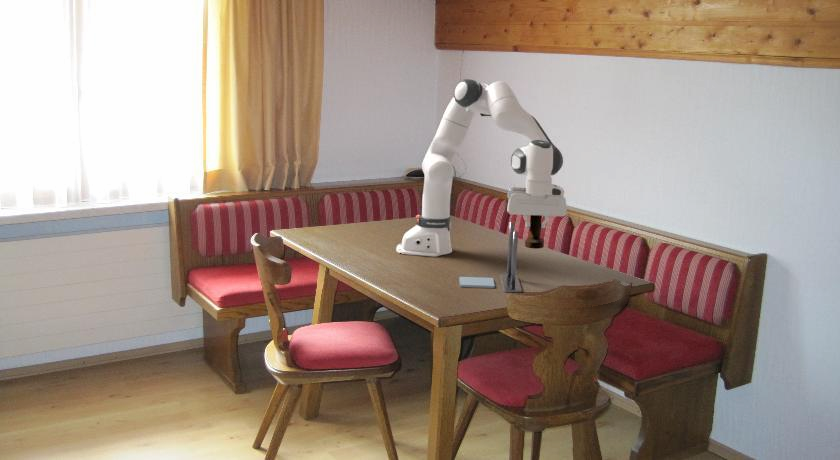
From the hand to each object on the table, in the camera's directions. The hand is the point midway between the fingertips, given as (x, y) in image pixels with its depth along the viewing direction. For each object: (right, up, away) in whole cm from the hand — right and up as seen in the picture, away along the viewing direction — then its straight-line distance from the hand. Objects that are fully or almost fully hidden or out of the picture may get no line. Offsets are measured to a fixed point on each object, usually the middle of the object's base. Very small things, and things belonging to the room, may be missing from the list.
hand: (535, 227), depth 298 cm
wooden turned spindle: (0, -7, +2) cm, 7 cm away
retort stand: (-8, -20, +5) cm, 22 cm away
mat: (-20, -20, +5) cm, 29 cm away
